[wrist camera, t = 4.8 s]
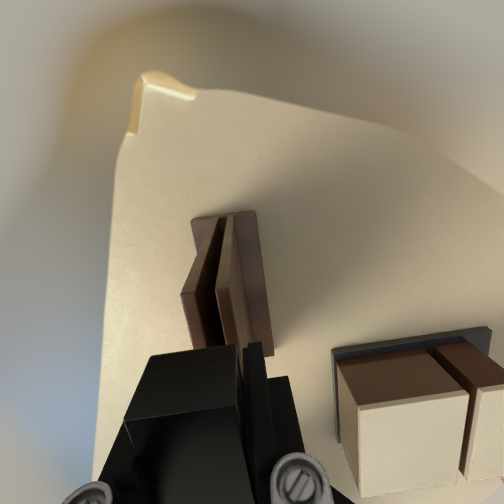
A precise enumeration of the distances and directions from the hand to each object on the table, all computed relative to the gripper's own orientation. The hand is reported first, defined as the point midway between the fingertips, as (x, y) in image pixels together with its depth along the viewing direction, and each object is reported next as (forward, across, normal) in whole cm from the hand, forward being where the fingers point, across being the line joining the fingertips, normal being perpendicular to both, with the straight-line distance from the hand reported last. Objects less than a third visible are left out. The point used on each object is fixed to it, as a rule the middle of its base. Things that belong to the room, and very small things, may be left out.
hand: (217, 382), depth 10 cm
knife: (0, 0, +5) cm, 5 cm away
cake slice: (+17, -23, +21) cm, 35 cm away
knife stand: (+18, 0, +5) cm, 18 cm away
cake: (+18, -18, +21) cm, 33 cm away
